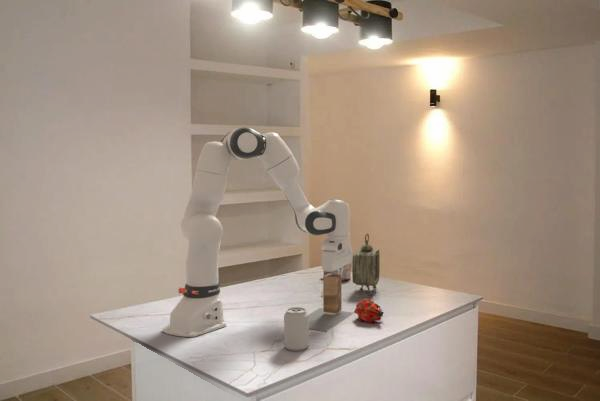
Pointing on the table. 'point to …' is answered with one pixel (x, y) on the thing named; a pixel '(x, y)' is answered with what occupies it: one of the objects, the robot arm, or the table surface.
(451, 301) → the table surface
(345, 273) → the food item
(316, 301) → the table surface
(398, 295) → the table surface
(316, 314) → the rubber mat
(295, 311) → the can
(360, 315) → the dragon fruit
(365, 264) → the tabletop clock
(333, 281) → the light brown wooden block
